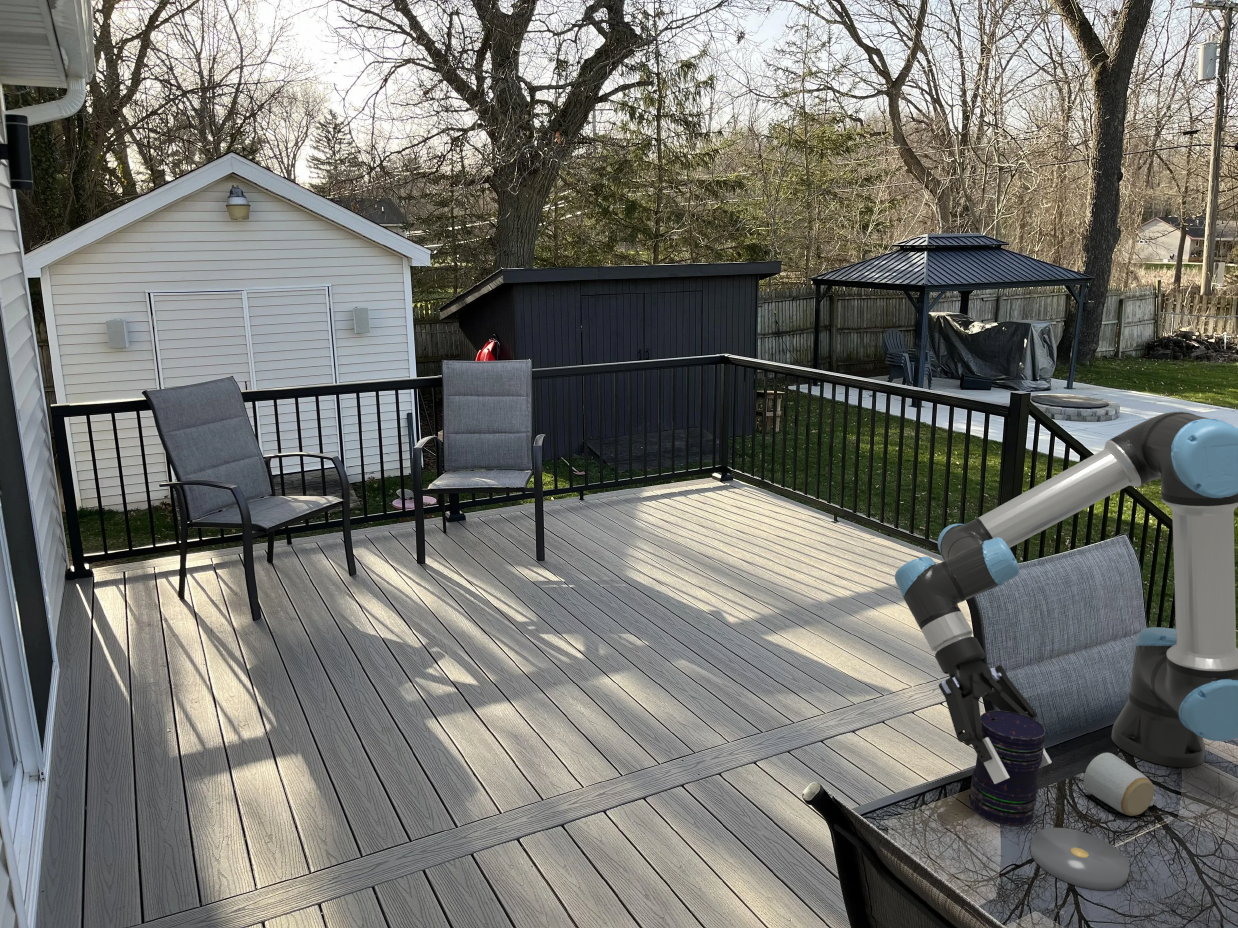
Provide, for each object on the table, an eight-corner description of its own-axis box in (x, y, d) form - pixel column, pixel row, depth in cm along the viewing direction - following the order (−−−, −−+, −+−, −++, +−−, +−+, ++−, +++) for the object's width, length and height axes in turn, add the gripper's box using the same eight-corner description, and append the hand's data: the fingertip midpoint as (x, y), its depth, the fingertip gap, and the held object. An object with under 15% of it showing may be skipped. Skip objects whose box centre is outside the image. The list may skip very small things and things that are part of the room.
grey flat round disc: (1123, 851, 140) (1125, 841, 139) (1131, 900, 128) (1133, 890, 128) (1030, 827, 145) (1032, 818, 145) (1030, 873, 133) (1031, 863, 133)
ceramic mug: (1121, 822, 148) (1129, 778, 146) (1079, 796, 155) (1086, 754, 154) (1167, 812, 152) (1175, 769, 150) (1124, 787, 159) (1131, 746, 158)
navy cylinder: (1037, 805, 152) (1049, 720, 149) (1030, 833, 143) (1042, 745, 140) (974, 786, 156) (984, 704, 154) (963, 813, 148) (974, 727, 145)
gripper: (982, 643, 165) (1050, 765, 154) (893, 664, 153) (960, 797, 143) (1011, 625, 159) (1084, 749, 149) (922, 645, 148) (993, 781, 137)
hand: (1023, 772), depth 146 cm, fingers closed on navy cylinder, 10 cm apart
